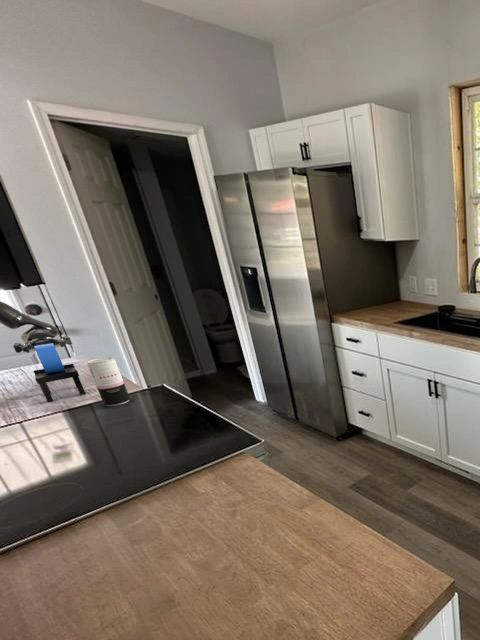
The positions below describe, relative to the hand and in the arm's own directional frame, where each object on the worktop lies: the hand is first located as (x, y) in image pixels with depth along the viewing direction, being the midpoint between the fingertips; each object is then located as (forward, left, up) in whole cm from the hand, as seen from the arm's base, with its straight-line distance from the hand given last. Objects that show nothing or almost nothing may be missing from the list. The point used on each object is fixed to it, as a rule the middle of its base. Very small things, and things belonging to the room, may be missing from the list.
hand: (44, 347), depth 147 cm
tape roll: (+6, -8, -8) cm, 12 cm away
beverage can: (+32, -23, -16) cm, 42 cm away
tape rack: (+6, -8, -16) cm, 19 cm away
